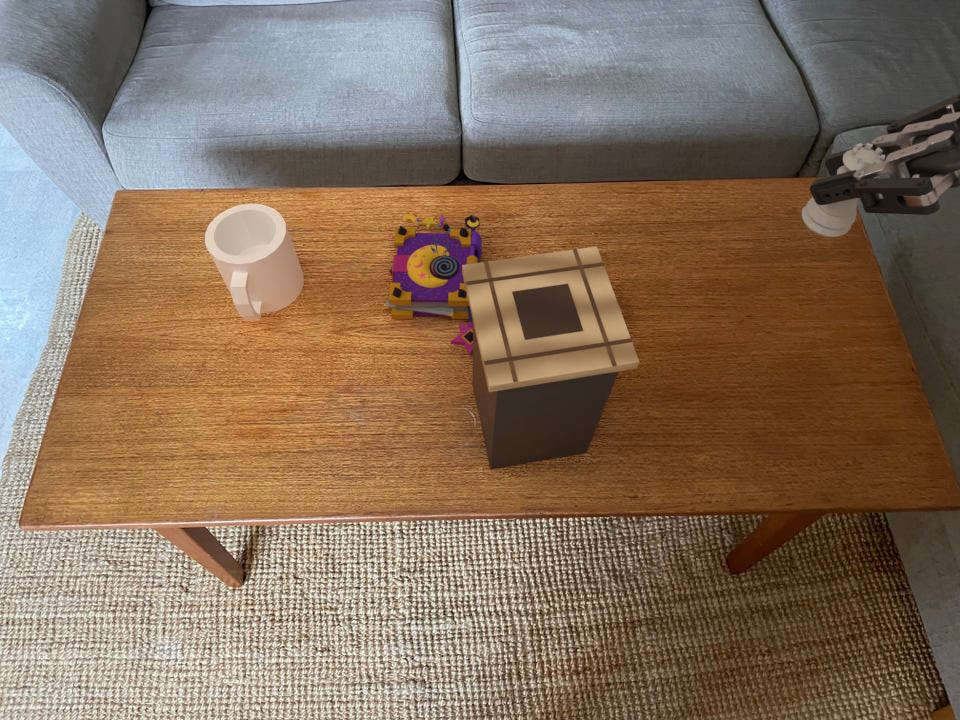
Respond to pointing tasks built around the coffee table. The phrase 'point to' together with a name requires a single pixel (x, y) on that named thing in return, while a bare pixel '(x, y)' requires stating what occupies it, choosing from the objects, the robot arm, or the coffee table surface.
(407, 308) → the book
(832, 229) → the rook chess piece
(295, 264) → the mug
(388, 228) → the coffee table surface
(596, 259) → the game board
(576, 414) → the board stand
